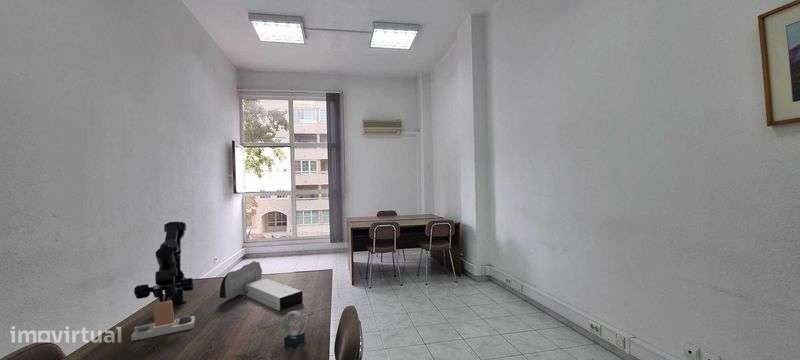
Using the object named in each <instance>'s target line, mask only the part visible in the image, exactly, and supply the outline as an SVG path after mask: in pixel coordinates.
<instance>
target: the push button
mask: <svg viewBox="0 0 800 360" xmlns="http://www.w3.org/2000/svg"><path fill="white" fill-rule="evenodd" d="M190 317H191V315H189V314H187V315H183V316H180V317H179V319H180V324H183V323H188V322H191V320H190Z"/></svg>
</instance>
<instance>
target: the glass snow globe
mask: <svg viewBox="0 0 800 360" xmlns="http://www.w3.org/2000/svg"><path fill="white" fill-rule="evenodd" d="M286 313H287V314H285V315H284V317H283V318H282V320H281V324H282V328H283V329H284V332H285V333H286V334H287V335H285V336H284V338H283V340H284V342H283V345H284V347H285V348H290V347H293V348H292V349H296V348H297V347H298V345H299V344H300V343H301V344H303V343H304V342H305V341H304V340H306V336H305V335H306V333H305V331H304V328H305V327H306V319H305V316H304V314H303V313H302V312H301V311H299V310H293V311H292V310H291V311H288V312H286ZM295 316H296V317H297V318H298V319H299V321H300V322H299V323H300V324H299V326H298V327H299V328H298V329H297V330H296V329H294V330H292V328H290V323H291V322H292V321H293V319H294V317H295ZM303 341H304V342H303ZM301 344H300V345H301ZM300 345H299V346H300Z"/></svg>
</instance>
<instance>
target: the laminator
mask: <svg viewBox="0 0 800 360" xmlns="http://www.w3.org/2000/svg"><path fill="white" fill-rule="evenodd" d="M245 291H246V294H245V296H246V297H249V298H251V299H253V300H255V301H256V302H259V303H261V304H263V305H265V306H268V307H270V308H272V309H274V310H277V311H278V312H281V311H284V310H286V309H289V308H292V307H295V306H298V305H300V303H301V304H303V302H304V301H303V300H304V299H303V298H304V297H303V291H302V290H300V289H297V288H294V287H292V286H289V285H286V284H283V283H281V282H277V281H275V280H272V279H269V278H261V280H258V281H254V282H251V283H247V284H245ZM297 304H298V305H297Z"/></svg>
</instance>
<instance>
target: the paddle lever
mask: <svg viewBox="0 0 800 360" xmlns="http://www.w3.org/2000/svg"><path fill="white" fill-rule="evenodd" d="M151 307H152V308H151V309H152V315H153V321H154V322H153V323H154V324H155V327H157V326H162V325H167V324H172V323H174V321H175V314H174V306H173V304H172V300H170V301H164V302H160V301H158V302H153V303H152V304H151Z"/></svg>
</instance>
